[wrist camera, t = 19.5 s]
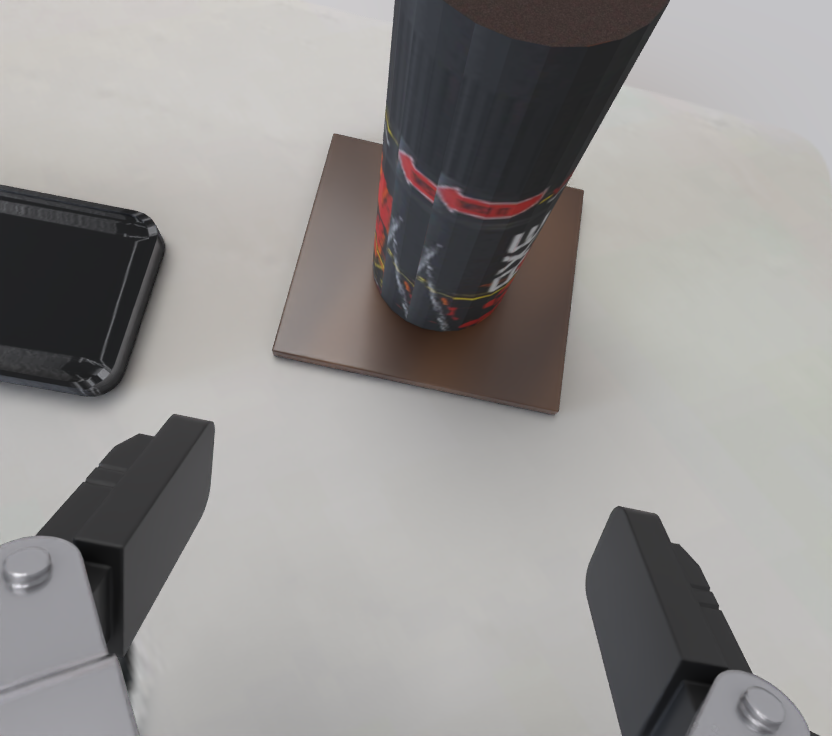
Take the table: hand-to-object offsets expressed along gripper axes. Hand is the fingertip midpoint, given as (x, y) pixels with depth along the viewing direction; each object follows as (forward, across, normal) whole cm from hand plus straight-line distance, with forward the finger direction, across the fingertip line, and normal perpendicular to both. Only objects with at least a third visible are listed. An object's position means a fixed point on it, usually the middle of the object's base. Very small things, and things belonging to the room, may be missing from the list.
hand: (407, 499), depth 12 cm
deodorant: (+17, 0, 0) cm, 17 cm away
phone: (+14, +19, +4) cm, 23 cm away
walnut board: (+17, 0, 0) cm, 17 cm away
